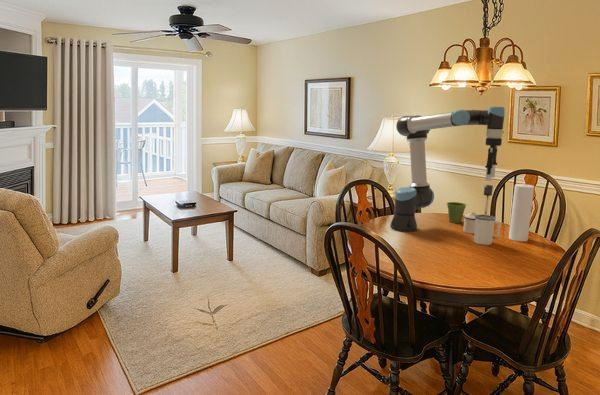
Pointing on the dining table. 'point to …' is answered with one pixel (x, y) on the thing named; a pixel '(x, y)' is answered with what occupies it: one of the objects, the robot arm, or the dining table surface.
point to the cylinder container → (521, 212)
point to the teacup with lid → (469, 223)
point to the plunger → (488, 193)
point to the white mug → (485, 229)
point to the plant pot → (455, 211)
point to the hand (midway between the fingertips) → (489, 179)
